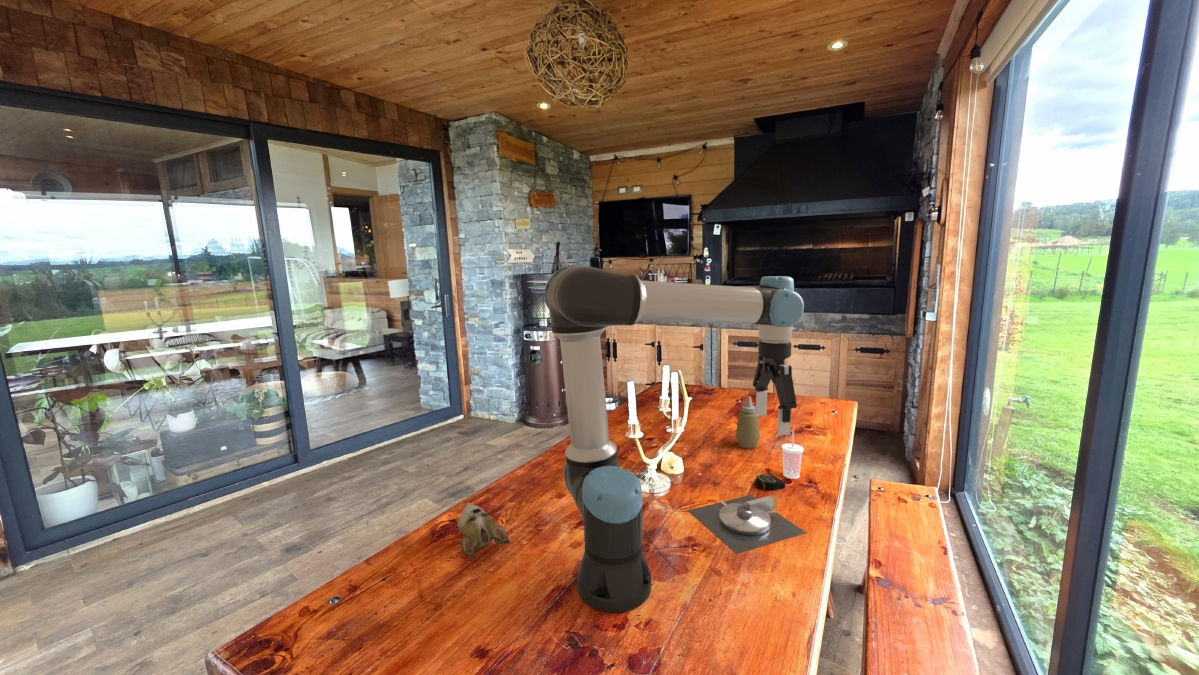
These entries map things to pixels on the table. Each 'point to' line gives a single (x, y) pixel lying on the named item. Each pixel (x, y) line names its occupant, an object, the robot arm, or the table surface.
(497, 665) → the table surface
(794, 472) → the beverage cup
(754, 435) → the squeeze bottle
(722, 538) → the plate
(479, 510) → the ceramic sculpture
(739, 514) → the dial
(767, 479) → the tape measure
